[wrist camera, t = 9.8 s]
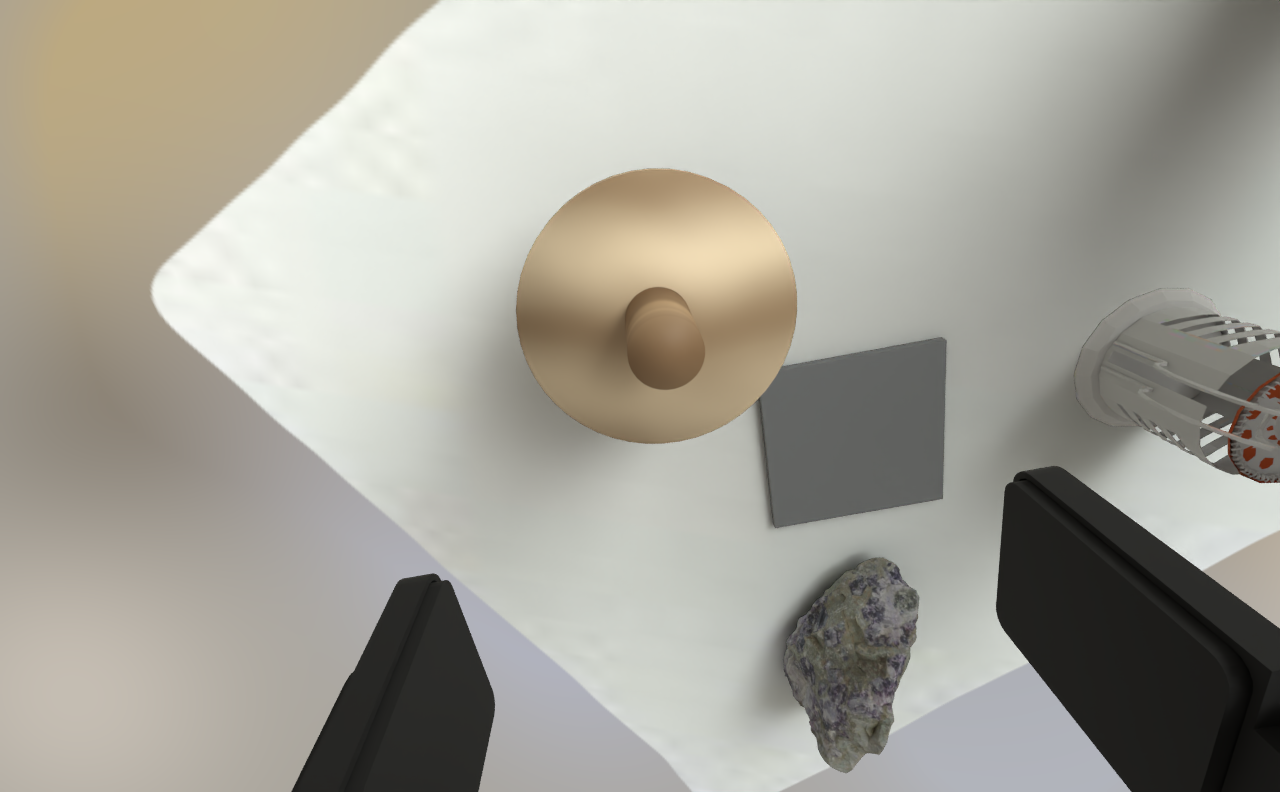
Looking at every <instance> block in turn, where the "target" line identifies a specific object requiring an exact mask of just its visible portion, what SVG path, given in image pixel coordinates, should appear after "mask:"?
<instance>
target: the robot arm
mask: <svg viewBox="0 0 1280 792" xmlns="http://www.w3.org/2000/svg"><path fill="white" fill-rule="evenodd" d="M996 612H997V616H998V619H999V622H1000V624H1001V626H1002V628H1003V629H1004V631H1005V632H1006V634H1007V635H1008V636H1009V637H1010V639H1011V640H1012V641H1013V642H1014V644H1015V645H1016V646H1017V648H1018V649H1019V650H1020V651H1021V653H1022V654H1023V655H1024V656H1025V658H1026V659H1027V660H1028V661H1029V663H1030V664H1031V665H1032V666H1033V668H1034V669H1035V670H1036V671H1037V673H1038V674H1039V675H1040V677H1041V678H1042V679H1043V680H1044V682H1045V683H1046V684H1047V685H1048V687H1049V688H1050V689H1051V691H1052V692H1053V693H1054V694H1055V696H1056V697H1057V698H1058V699H1059V700H1060V702H1061V703H1062V704H1063V706H1064V707H1065V708H1066V710H1067V711H1068V712H1069V713H1070V715H1071V716H1072V717H1073V718H1074V720H1075V721H1076V722H1077V723H1078V725H1079V726H1080V727H1081V729H1082V730H1083V731H1084V732H1085V733H1086V735H1087V736H1088V737H1089V739H1090V740H1091V741H1092V742H1093V744H1094V745H1095V746H1096V748H1097V749H1098V750H1099V751H1100V752H1101V754H1102V755H1103V756H1104V757H1105V759H1106V760H1107V761H1108V763H1109V764H1110V765H1111V766H1112V768H1113V769H1114V770H1115V771H1116V773H1117V774H1118V775H1119V777H1120V778H1121V779H1122V780H1123V782H1124V783H1125V784H1126V785H1127V787H1128V788H1129V789H1130V791H1131V792H1280V628H1278V627H1277V626H1275V625H1274V624H1273V623H1271V622H1270V621H1269V620H1267V619H1266V618H1265V617H1263V616H1262V615H1261V614H1259V613H1258V612H1257V611H1255V610H1254V609H1252V608H1251V607H1250V606H1248V605H1247V604H1246V603H1244V602H1243V601H1241V600H1240V599H1239V598H1238V597H1236V596H1235V595H1234V594H1232V593H1231V592H1229V591H1228V590H1227V589H1225V588H1224V587H1222V586H1221V585H1220V584H1219V583H1217V582H1216V581H1215V580H1213V579H1212V578H1211V577H1209V576H1208V575H1206V574H1205V573H1204V572H1202V571H1201V570H1200V569H1198V568H1197V567H1196V566H1194V565H1193V564H1192V563H1190V562H1189V561H1188V560H1186V559H1185V558H1183V557H1182V556H1181V555H1179V554H1178V553H1177V552H1175V551H1174V550H1173V549H1171V548H1170V547H1169V546H1167V545H1166V544H1165V543H1163V542H1162V541H1160V540H1159V539H1158V538H1156V537H1155V536H1154V535H1152V534H1151V533H1150V532H1148V531H1147V530H1146V529H1144V528H1143V527H1142V526H1140V525H1139V524H1137V523H1136V522H1135V521H1133V520H1132V519H1131V518H1129V517H1128V516H1127V515H1125V514H1124V513H1123V512H1121V511H1120V510H1119V509H1117V508H1116V507H1114V506H1113V505H1112V504H1110V503H1109V502H1108V501H1106V500H1105V499H1104V498H1102V497H1101V496H1100V495H1098V494H1097V493H1096V492H1094V491H1093V490H1091V489H1090V488H1089V487H1087V486H1086V485H1085V484H1083V483H1082V482H1081V481H1079V480H1078V479H1077V478H1075V477H1074V476H1073V475H1071V474H1070V473H1068V472H1067V471H1066V470H1064V469H1062V468H1061V467H1058V466H1051V467H1045V468H1039V469H1034V470H1028V471H1022V472H1019V473H1017V474H1016V476H1015V477H1014V480H1013V482H1011V483H1009V484H1007V486H1006V488H1005V494H1004V507H1003V521H1002V534H1001V548H1000V561H999V574H998V588H997V601H996ZM494 701H495V700H494V694H493V690H492V688H491V685H490V682H489V680H488V677H487V675H486V672H485V670H484V667H483V664H482V662H481V659H480V657H479V654H478V652H477V649H476V646H475V644H474V641H473V638H472V636H471V633H470V631H469V628H468V626H467V623H466V621H465V618H464V615H463V613H462V610H461V608H460V605H459V602H458V600H457V597H456V595H455V592H454V589H453V587H452V585H451V583H450V582H449V581H448V580H444V581H441V580H440V578H439V576H438V575H436V574H427V575H422V576H416V577H410V578H404V579H402V580H399V582H398V583H397V584H396V586H395V588H394V590H393V593H392V594H391V597H390V599H389V601H388V603H387V605H386V607H385V609H384V611H383V613H382V615H381V617H380V619H379V621H378V623H377V626H376V627H375V629H374V631H373V634H372V636H371V638H370V640H369V642H368V644H367V646H366V648H365V650H364V652H363V654H362V656H361V658H360V660H359V662H358V664H357V666H356V668H355V671H354V672H353V673H351V675H350V676H349V678H348V679H347V681H346V682H345V684H344V686H343V688H342V690H341V693H340V694H339V696H338V698H337V700H336V702H335V704H334V706H333V708H332V711H331V713H330V715H329V717H328V719H327V721H326V723H325V725H324V727H323V729H322V731H321V733H320V735H319V737H318V739H317V741H316V743H315V745H314V747H313V749H312V751H311V753H310V755H309V757H308V759H307V761H306V763H305V765H304V767H303V770H302V771H301V773H300V776H299V778H298V780H297V782H296V784H295V786H294V788H293V790H292V792H478V790H479V786H480V781H481V776H482V771H483V765H484V761H485V757H486V752H487V747H488V742H489V737H490V732H491V728H492V723H493V718H494V711H495V702H494Z"/></svg>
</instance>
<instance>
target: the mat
mask: <svg viewBox="0 0 1280 792" xmlns="http://www.w3.org/2000/svg"><path fill="white" fill-rule="evenodd" d="M945 379H946V340H945V339H943V338H942V337H941V338H936V339H930V340H925V341H919V342H914V343H909V344H903V345H898V346H892V347H887V348H881V349H876V350H870V351H865V352H860V353H854V354H849V355H843V356H838V357H832V358H827V359H821V360H816V361H810V362H805V363H800V364H794V365H789V366H783V367H781V368H780V370H779V372H778V374H777V375H776V377H775V379H774V380H773V381H772V383H771V384H770V385H769V387H768V388H767V390H766V391H765V392H764V393H763V394H762V395H761V396H760V397H759V399H760V408H761V417H762V426H763V435H764V444H765V453H766V462H767V471H768V480H769V489H770V498H771V507H772V516H773V524H774V526H775V528H779V527H784V526H790V525H796V524H801V523H807V522H813V521H819V520H824V519H830V518H836V517H841V516H847V515H853V514H859V513H864V512H870V511H876V510H881V509H887V508H893V507H898V506H904V505H910V504H916V503H921V502H927V501H933V500H938V499H943V461H944V420H945Z"/></svg>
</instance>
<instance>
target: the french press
mask: <svg viewBox="0 0 1280 792" xmlns="http://www.w3.org/2000/svg"><path fill="white" fill-rule="evenodd" d="M1225 321H1231V322H1232V323H1230V324H1225ZM1244 327H1252V329H1253V330H1252V331H1245V328H1244ZM1229 329H1235V332H1236V333H1233V334H1228V331H1227V330H1229ZM1266 334H1274V335H1275V338H1270V339H1267V338H1266ZM1252 336H1255V338H1256V341H1252V342H1248V339H1247V337H1252ZM1235 339H1237V340H1238V345H1234V346H1231V345H1230V340H1235ZM1274 349H1278V351H1279V356H1280V332H1278V331H1275V330H1271V329H1266V330H1263V329H1262V328H1261V327H1260V326H1258V325H1254V324H1250V323H1241V322H1240V321H1239V320H1237V319H1234V318H1230V317H1222V316H1221V315H1220V313H1219V311H1218V310H1217V308H1216V306H1215V305H1214V303H1213V301H1212V300H1211V299H1209V298H1207V297H1205V296H1203V295H1201V294H1199V293H1197V292H1195V291H1193V290H1191V289H1189V288H1160V289H1157V290H1154V291H1152V292H1149V293H1146V294H1144V295H1141V296H1138V297H1136V298H1133V299H1130V300H1128V301H1127V302H1126V303H1124V304H1123V305H1122V306H1120V307H1119V308H1118V309H1117V310H1115V311H1114V312H1113V313H1111V314H1110V315H1109V316H1107V317H1106V318H1105V319H1103V320H1102V321H1101V322H1100V324H1099V325H1098V327H1097V328H1096V329H1095V331H1094V332H1093V333H1092V335H1091V336H1090V337H1089V339H1088V340H1087V342H1086V343H1085V344H1084V346H1083V347H1082V350H1081V353H1080V357H1079V360H1078V363H1077V366H1076V369H1075V373H1074V380H1075V388H1076V397H1077V400H1078V401H1079V403H1080V404H1081V405H1082V407H1083V408H1084V409H1085V411H1086V412H1087V413H1088V415H1089V416H1090V417H1092V418H1094V419H1096V420H1099V421H1101V422H1103V423H1106V424H1108V425H1110V426H1140V427H1143V428H1144V429H1145V430H1147V431H1149V432H1151V433H1153V434H1155V435H1157V436H1159V437H1161V438H1162V439H1163V440H1165V441H1167V442H1169V443H1171V444H1173V445H1176V446H1178V447H1179V448H1180V449H1181V450H1183V451H1185V452H1187V453H1189V454H1192V455H1195V456H1197V457H1198V458H1199V459H1200V460H1201V461H1203V462H1205V463H1207V464H1209V465H1211V466H1213V467H1215V468H1217V469H1219V470H1222V471H1225V472H1227V473H1230V474H1232V475H1233V474H1241V475H1242V476H1245V477H1247V478H1249V479H1252V480H1254V481H1256V482H1259V483H1280V367H1277V366H1274V365H1272V363H1271V357H1270V351H1272V350H1274ZM1258 356H1259V357H1260V360H1257V359H1254V358H1256V357H1258ZM1215 413H1218V414H1220V415H1222V416H1224V417H1222V418H1220V419H1218V420H1216V421H1214V422H1212V423H1210V424H1208V425H1207V424H1204V423H1202V422H1201V421H1202V420H1203V419H1205V418H1207V417H1209V416H1211V415H1213V414H1215ZM1231 423H1232V425H1231V427H1230V430H1229V432H1226V431H1223V430H1220V428H1222V427H1224V426H1227V425H1229V424H1231ZM1157 426H1158V427H1159V428H1160V429H1161V431H1162V432H1158V431H1157V430H1156V429H1155V427H1157ZM1200 427H1201V429H1200ZM1150 429H1151V430H1152V431H1154V432H1152V431H1150ZM1212 432H1215V433H1217V434H1220V435H1223V436H1222V437H1220V438H1218V439H1216V440H1214V441H1212V442H1210V443H1209V444H1207V445H1205V446H1203V447H1202V448H1201V446H1200V439H1201V438H1203V437H1205V436H1207V435H1209V434H1211V433H1212ZM1175 434H1176V435H1177V436H1178V438H1179V439H1180V440H1179V441H1176V440H1175V439H1174V438H1173V437H1172V436H1173V435H1175ZM1166 438H1169V439H1170V440H1171V441H1169V440H1167V439H1166ZM1227 444H1228V455H1227V456H1225V457H1223V458H1222V459H1220V460H1218V461H1217V462H1215V463H1211V462H1210V461H1209V460H1208V459H1207V458H1206V456H1208V455H1210V454H1212V453H1213V452H1215V451H1216V450H1218V449H1220V448H1222V447H1223V446H1225V445H1227ZM1185 447H1186V448H1187V449H1188V450H1190V451H1188V450H1186V449H1184V448H1185Z"/></svg>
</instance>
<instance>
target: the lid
mask: <svg viewBox="0 0 1280 792" xmlns="http://www.w3.org/2000/svg"><path fill="white" fill-rule="evenodd" d="M516 315H517V329H518V333H519V338H520V343H521V347H522V350H523V353H524V355H525V358H526V361H527V363H528V365H529V367H530V369H531V371H532V373H533V375H534V377H535V379H536V380H537V382H538V383H539V385H540V386H541V387H542V389H543V390H544V392H545V393H546V394H547V395H548V396H549V397H550V398H551V400H552V401H553V402H554V403H555V404H556V405H557V406H558V407H559V408H561V409H562V410H563V411H564V412H565V413H566V414H567V415H569V416H570V417H572V418H573V419H575V420H576V421H578V422H579V423H581V424H582V425H584V426H586V427H588V428H590V429H592V430H594V431H596V432H598V433H601V434H604V435H606V436H609V437H612V438H615V439H620V440H624V441H628V442H636V443H645V444H659V443H671V442H679V441H683V440H687V439H691V438H696V437H698V436H701V435H704V434H706V433H709V432H712V431H714V430H716V429H718V428H720V427H722V426H724V425H726V424H727V423H729V422H730V421H732V420H733V419H735V418H736V417H738V416H739V415H741V414H742V413H743V412H744V411H746V410H747V409H748V408H749V407H750V406H752V405H753V404H754V403H755V402H756V401H757V400H758V399H759V397H760V396H761V395H762V394H763V393H764V392H765V391H766V390H767V388H768V387H769V385H770V384H771V383H772V381H773V380H774V379H775V377H776V375H777V374H778V372H779V370H780V368H781V366H782V365H783V363H784V361H785V358H786V356H787V353H788V351H789V348H790V346H791V342H792V338H793V334H794V330H795V323H796V315H797V291H796V284H795V278H794V273H793V270H792V266H791V263H790V259H789V257H788V254H787V252H786V250H785V248H784V245H783V243H782V241H781V239H780V238H779V236H778V235H777V233H776V232H775V230H774V228H773V227H772V225H771V224H770V223H769V222H768V220H767V219H766V218H765V217H764V216H763V215H762V213H761V212H760V211H759V210H758V209H757V208H756V207H754V206H753V205H752V204H751V203H750V202H749V201H748V200H746V199H745V198H744V197H742V196H741V195H739V194H738V193H736V192H735V191H733V190H732V189H730V188H729V187H727V186H725V185H722V184H720V183H718V182H716V181H714V180H712V179H709V178H707V177H704V176H701V175H697V174H694V173H691V172H687V171H681V170H674V169H653V168H650V169H642V170H634V171H629V172H625V173H621V174H618V175H614V176H611V177H609V178H606V179H604V180H602V181H599V182H597V183H595V184H593V185H591V186H590V187H588V188H586V189H585V190H583V191H581V192H580V193H578V194H577V195H575V196H574V197H573V198H572V199H571V200H569V201H568V202H567V203H566V204H564V205H563V206H562V207H561V208H560V209H559V210H558V212H557V213H556V214H555V215H554V216H553V217H552V218H551V219H550V220H549V222H548V223H547V224H546V226H545V227H544V229H543V230H542V231H541V233H540V234H539V236H538V237H537V238H536V240H535V242H534V244H533V246H532V248H531V250H530V252H529V254H528V256H527V258H526V261H525V264H524V267H523V270H522V273H521V277H520V281H519V286H518V291H517V305H516Z"/></svg>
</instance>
